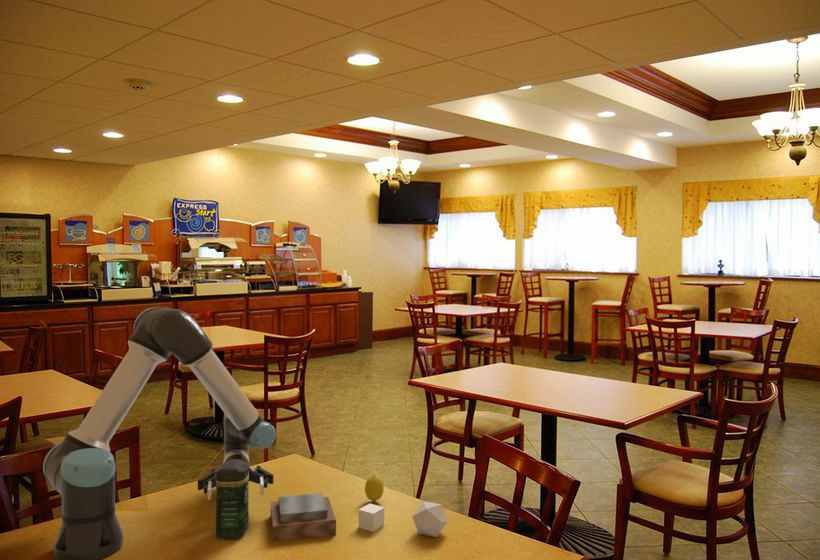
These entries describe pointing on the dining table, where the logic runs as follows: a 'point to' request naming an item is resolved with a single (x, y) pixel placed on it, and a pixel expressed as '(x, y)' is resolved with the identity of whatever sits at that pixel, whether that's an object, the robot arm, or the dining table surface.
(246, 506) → the coffee jar
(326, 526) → the tower stand
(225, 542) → the dining table surface
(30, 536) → the dining table surface
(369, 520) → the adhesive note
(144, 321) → the robot arm
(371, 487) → the lemon
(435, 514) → the die
